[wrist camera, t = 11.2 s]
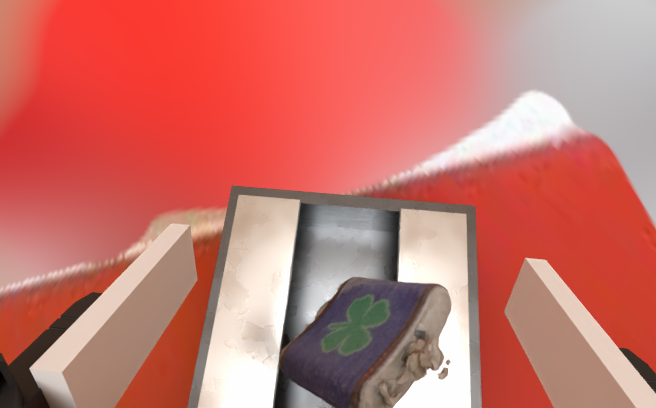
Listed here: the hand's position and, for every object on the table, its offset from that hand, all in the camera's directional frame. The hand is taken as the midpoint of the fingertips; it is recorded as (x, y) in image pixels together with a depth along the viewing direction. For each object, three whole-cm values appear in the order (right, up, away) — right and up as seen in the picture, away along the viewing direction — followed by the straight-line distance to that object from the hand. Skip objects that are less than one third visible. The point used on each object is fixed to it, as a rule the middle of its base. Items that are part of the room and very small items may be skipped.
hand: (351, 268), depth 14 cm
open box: (0, -9, +19) cm, 21 cm away
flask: (-1, -7, +12) cm, 14 cm away
